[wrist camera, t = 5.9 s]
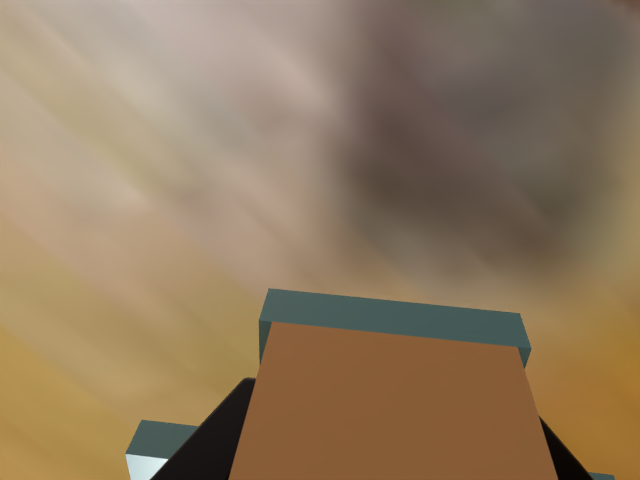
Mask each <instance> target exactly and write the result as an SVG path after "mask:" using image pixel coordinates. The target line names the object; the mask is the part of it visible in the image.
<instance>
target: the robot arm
mask: <svg viewBox="0 0 640 480" xmlns="http://www.w3.org/2000/svg"><path fill="white" fill-rule="evenodd" d="M255 382H256V378H249V377H248V378H245V379H243V380H242V381H241V382H240V383H239V384H238V385H237V386H236V387H235V388H234V389H233V390H232V392H231V393H230V394H229V395H228V396H227V397H226V398H225V399H224V400H223V401H222V402H221V403H220V404H219V406H218V407H217V408H216V409H215V410H214V411H213V412H212V413H211V414H210V415H209V416H208V417H207V418H206V420H205V421H204V422H203V423H202V424H201V425H200V426H199V427H198V428H197V429H196V430H195V431H194V432H193V434H192V435H191V436H190V437H189V438H188V439H187V440H186V441H185V442H184V443H183V444H182V445H181V446H180V448H179V449H178V450H177V451H176V452H175V453H174V454H173V455H172V456H171V457H170V458H169V459H168V460H167V462H166V463H165V464H164V465H163V466H162V467H161V468H160V469H159V470H158V471H157V472H156V473H155V474H154V476H153V477H152V478H151V479H150V480H229V476H230V472H231V469H232V465H233V461H234V458H235V454H236V451H237V447H238V443H239V440H240V436H241V433H242V429H243V425H244V422H245V418H246V414H247V411H248V407H249V404H250V400H251V396H252V393H253V389H254V386H255ZM539 419H540V422H541V425H542V429H543V432H544V435H545V438H546V442H547V445H548V448H549V451H550V455H551V458H552V461H553V464H554V468H555V471H556V474H557V477H558V480H594V479H593V478H592V476H591V475H590V474H589V473H588V472H587V471H586V469H585V468H584V467H583V466H582V465H581V464H580V462H579V461H578V460H577V459H576V458H575V457H574V456H573V454H572V453H571V452H570V451H569V450H568V449H567V447H566V446H565V445H564V444H563V443H562V442H561V440H560V439H559V438H558V437H557V436H556V435H555V434H554V432H553V431H552V430H551V429H550V428H549V427H548V425H547V424H546V423H545V422H544V421H543V420H542V418H541V417H540V416H539Z"/></svg>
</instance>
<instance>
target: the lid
mask: <svg viewBox="0 0 640 480" xmlns="http://www.w3.org/2000/svg"><path fill="white" fill-rule="evenodd" d="M531 349H532V348H531V345H530V342H529V339H528V337H527V334H526V331H525V328H524V325H523V322H522V319H521V316H520V313H510V312H500V311H490V310H480V309H470V308H460V307H450V306H440V305H430V304H420V303H410V302H400V301H390V300H380V299H370V298H360V297H350V296H340V295H330V294H320V293H310V292H300V291H290V290H280V289H270V288H269V289H268V293H267V296H266V299H265V302H264V306H263V309H262V312H261V315H260V318H259V350H260V367H259V371H258V375H257V378H256V382H255V386H254V389H253V393H252V396H251V400H250V404H249V407H248V411H247V414H246V418H245V422H244V425H243V429H242V433H241V436H240V440H239V443H238V447H237V451H236V454H235V458H234V461H233V465H232V469H231V472H230V476H229V480H558V477H557V474H556V471H555V468H554V464H553V461H552V458H551V455H550V451H549V448H548V445H547V442H546V438H545V435H544V432H543V429H542V425H541V422H540V419H539V415H538V412H537V409H536V406H535V402H534V399H533V396H532V393H531V389H530V386H529V383H528V380H527V376H526V373H525V370H524V369H525V366H526V363H527V360H528V357H529V355H530V352H531ZM198 427H199V426H191V425H182V424H174V423H165V422H157V421H148V420H141V422H140V424H139V426H138V428H137V431H136V433H135V435H134V437H133V439H132V441H131V443H130V445H129V447H128V449H127V451H126V453H125V455H126V460H127V464H128V468H129V473H130V477H131V480H150V479H151V478H152V477H153V476H154V474H155V473H156V472H157V471H158V470H159V469H160V468H161V467H162V466H163V465H164V464H165V463H166V462H167V460H168V459H169V458H170V457H171V456H172V455H173V454H174V453H175V452H176V451H177V450H178V449H179V448H180V446H181V445H182V444H183V443H184V442H185V441H186V440H187V439H188V438H189V437H190V436H191V435H192V434H193V432H194V431H195V430H196V429H197V428H198ZM588 473H589V474H590V475H591V476H592V478H593V479H594V480H615V478H614V476H613V475H608V474H599V473H591V472H588Z"/></svg>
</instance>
